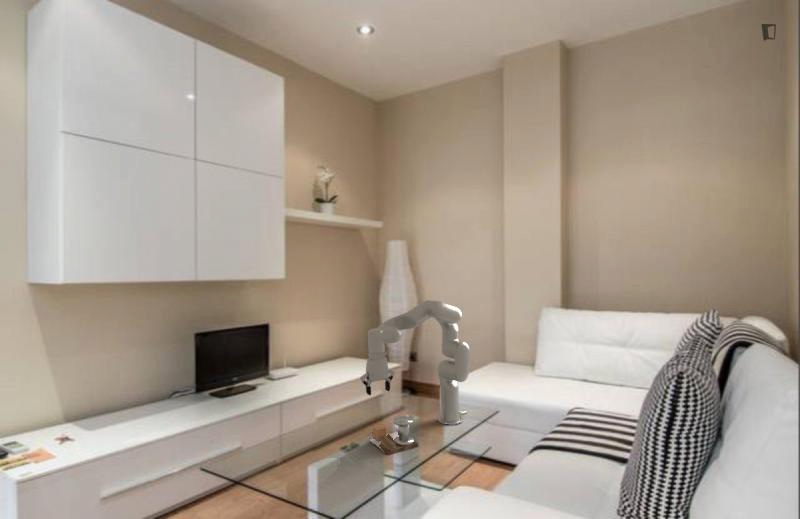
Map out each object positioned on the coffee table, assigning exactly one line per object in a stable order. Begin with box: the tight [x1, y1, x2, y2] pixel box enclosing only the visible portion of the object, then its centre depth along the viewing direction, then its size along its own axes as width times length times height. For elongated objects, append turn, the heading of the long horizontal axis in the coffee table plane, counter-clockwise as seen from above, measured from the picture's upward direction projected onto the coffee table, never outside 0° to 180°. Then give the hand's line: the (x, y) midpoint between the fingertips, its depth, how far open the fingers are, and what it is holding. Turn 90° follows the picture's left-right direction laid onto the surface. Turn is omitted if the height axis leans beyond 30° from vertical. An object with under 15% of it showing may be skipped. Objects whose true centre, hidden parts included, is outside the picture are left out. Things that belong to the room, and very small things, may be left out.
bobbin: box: [393, 415, 415, 446], centre depth 204 cm, size 9×9×10 cm
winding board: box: [371, 431, 419, 456], centre depth 206 cm, size 16×18×4 cm
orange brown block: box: [372, 424, 387, 442], centre depth 207 cm, size 4×4×6 cm
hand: (378, 392), depth 207 cm, fingers open, 9 cm apart
